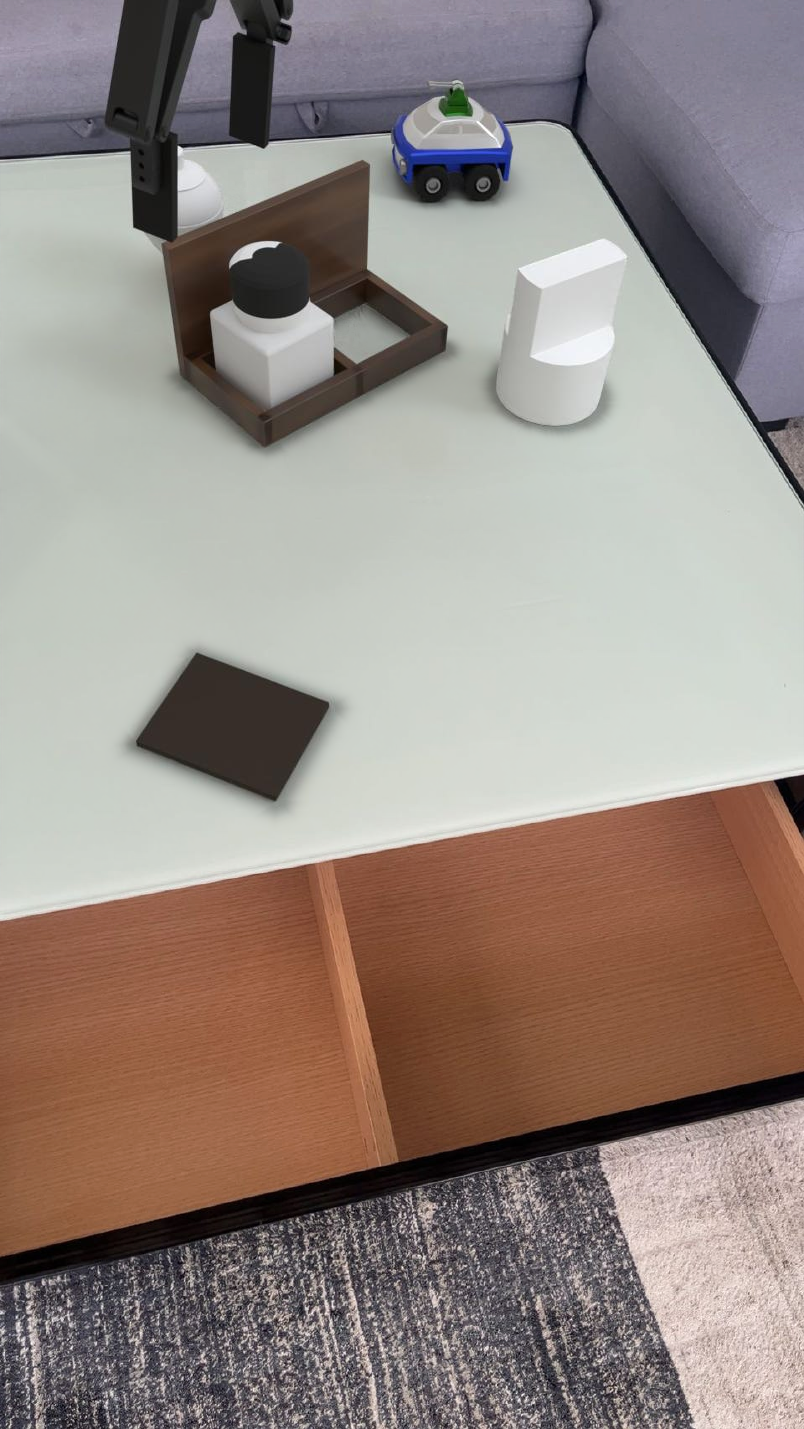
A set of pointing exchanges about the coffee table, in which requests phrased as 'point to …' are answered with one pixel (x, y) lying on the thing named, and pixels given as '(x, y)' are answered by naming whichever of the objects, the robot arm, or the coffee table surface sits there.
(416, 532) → the coffee table surface
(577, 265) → the base with upright slab
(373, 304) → the rack
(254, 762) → the mat
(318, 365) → the medicine bottle
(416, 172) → the toy car
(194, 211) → the spinning top
